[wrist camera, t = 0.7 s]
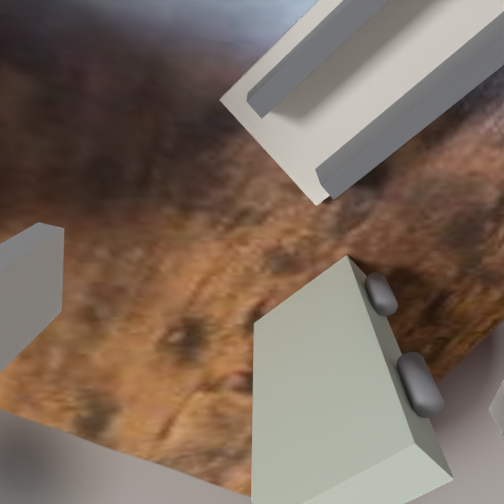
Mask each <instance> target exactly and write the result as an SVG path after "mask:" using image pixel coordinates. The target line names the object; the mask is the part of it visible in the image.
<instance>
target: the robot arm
mask: <svg viewBox="0 0 504 504" xmlns="http://www.w3.org/2000/svg"><path fill="white" fill-rule="evenodd" d="M63 256H64V228H62V227H57V226H53V225H48V224H44V223H39V222H38V223H36V224H34V225H33V226H31V227H29V228H27V229H26V230H24V231H22V232H20V233H18V234H17V235H15V236H13V237H11V238H10V239H8V240H6V241H4V242H3V243H1V244H0V372H1V371H2V370H3V369H4V368H5V367H6V366H7V365H8V364H9V363H10V362H11V361H12V360H13V359H14V358H15V357H16V356H17V355H18V354H19V353H20V352H21V351H22V350H23V349H24V348H25V347H26V346H27V345H28V344H29V343H30V342H31V341H32V340H33V339H34V338H35V337H36V336H38V335H39V334H40V333H41V332H42V331H43V330H44V329H45V328H46V327H47V326H48V325H49V324H50V323H51V322H52V321H53V320H54V319H55V318H56V317H57V316H58V315H59V314H60V313H61V312H62V285H63ZM488 410H489V412H490V414H491V416H492V418H493V420H494V421H495V423H496V425H497V427H498V429H499V431H500V433H501V434H502V436H503V438H504V379H503V382H502V383H501V385H500V388H499V389H498V391H497V393H496V395H495V397H494V399H493V401H492V403H491V405H490V407H489V409H488Z"/></svg>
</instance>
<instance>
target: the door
mask: <svg viewBox="0 0 504 504" xmlns="http://www.w3.org/2000/svg"><path fill="white" fill-rule="evenodd" d="M397 308H398V303H397V301H396V299H395V297H394V295H393V292H392V290H391V288H390V286H389V284H388V282H387V280H386V278H385V276H384V275H383V274H382V273H380V272H373V273H371V274H369V275H368V276H366V275H365V274H364V273H363V272H362V271H361V270H360V269H359V267H358V266H357V265H356V264H355V263H354V262H353V261H352V260H351V259H350V258H349V257H348V256H347V255H346V256H345V257H343V258H342V259H341V260H339V261H338V262H337V263H335V264H334V265H333V266H331V267H330V268H329V269H327V270H326V271H324V272H323V273H322V274H320V275H319V276H318V277H316V278H315V279H314V280H312V281H311V282H310V283H308V284H307V285H305V286H304V287H303V288H301V289H300V290H299V291H297V292H296V293H295V294H293V295H292V296H290V297H289V298H288V299H286V300H285V301H284V302H282V303H281V304H280V305H278V306H277V307H276V308H274V309H273V310H271V311H270V312H269V313H267V314H266V315H265V316H263V317H262V318H261V319H259V320H258V321H257V322H255V323H254V359H253V421H252V484H251V504H405V503H407V502H409V501H411V500H413V499H415V498H417V497H419V496H421V495H424V494H426V493H427V492H430V491H431V490H434V489H436V488H438V487H440V486H442V485H444V484H446V483H448V482H450V481H452V480H454V478H453V476H452V473H451V471H450V469H449V466H448V464H447V461H446V459H445V457H444V454H443V452H442V449H441V447H440V444H439V442H438V440H437V437H436V435H435V433H434V430H433V428H432V425H431V423H430V420H429V418H432V417H435V416H438V415H439V414H441V413H442V412H443V410H444V409H445V402H444V400H443V398H442V396H441V394H440V391H439V390H438V387H437V385H436V383H435V381H434V379H433V377H432V375H431V373H430V370H429V368H428V366H427V364H426V362H425V360H424V358H423V356H422V355H421V354H419V353H417V352H408V353H405V354H403V355H402V353H401V351H400V348H399V346H398V344H397V341H396V339H395V336H394V334H393V332H392V329H391V327H390V324H389V322H388V320H387V317H386V316H389V315H391V314H393V313H394V312H395V311H396V310H397Z"/></svg>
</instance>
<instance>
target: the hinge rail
mask: <svg viewBox="0 0 504 504" xmlns="http://www.w3.org/2000/svg"><path fill="white" fill-rule="evenodd" d="M503 65H504V0H319V1H318V2H317V3H316V4H315V5H314V6H313V7H312V8H311V9H310V10H309V11H308V12H307V13H306V14H305V15H304V16H303V17H302V18H301V19H300V20H299V21H298V22H297V23H296V24H295V25H293V26H292V27H291V28H290V29H289V30H288V31H287V32H286V33H285V34H284V35H283V36H282V37H281V38H280V39H279V40H278V41H277V42H276V43H275V44H274V45H273V46H272V47H271V48H270V49H269V50H268V51H267V52H266V53H265V54H264V55H263V56H262V57H261V58H260V59H259V60H258V61H257V62H256V63H255V64H254V65H253V66H252V67H251V68H250V69H249V70H248V71H247V72H246V73H245V74H244V75H243V76H242V77H241V78H240V79H239V80H238V81H237V82H236V83H235V84H234V85H233V86H232V87H231V88H230V89H229V90H228V91H227V92H226V93H225V94H224V95H223V96H222V97H221V98H220V101H221V102H222V103H223V104H224V106H225V107H226V108H227V109H228V110H229V111H230V112H231V113H232V114H233V115H234V116H235V118H236V119H237V120H238V121H239V122H240V123H241V124H242V125H243V126H244V127H245V128H246V130H247V131H248V132H249V133H250V134H251V135H252V136H253V137H254V138H255V139H256V141H257V142H258V143H259V144H260V145H261V146H262V147H263V148H264V149H265V150H266V151H267V153H268V154H269V155H270V156H271V157H272V158H273V159H274V160H275V161H276V162H277V163H278V165H279V166H280V167H281V168H282V169H283V170H284V171H285V172H286V173H287V174H288V176H289V177H290V178H291V179H292V180H293V181H294V182H295V183H296V184H297V185H298V186H299V188H300V189H301V190H302V191H303V192H304V193H305V194H306V195H307V196H308V197H309V198H310V200H311V201H312V202H313V203H314V204H315V205H316V206H317V205H318V204H320V203H321V202H322V201H323V200H325V199H326V198H327V197H328V196H331V197H332V198H333V200H334V199H336V198H337V197H338V196H339V195H341V194H342V193H343V192H344V191H346V190H347V189H348V188H349V187H351V186H352V185H353V184H354V183H356V182H357V181H358V180H360V179H361V178H362V177H363V176H365V175H366V174H367V173H368V172H370V171H371V170H372V169H373V168H375V167H376V166H377V165H378V164H380V163H381V162H382V161H383V160H385V159H386V158H387V157H388V156H390V155H391V154H392V153H394V152H395V151H396V150H397V149H399V148H400V147H401V146H402V145H404V144H405V143H406V142H407V141H409V140H410V139H411V138H412V137H414V136H415V135H416V134H417V133H419V132H420V131H421V130H422V129H424V128H425V127H426V126H427V125H429V124H430V123H431V122H433V121H434V120H435V119H436V118H438V117H439V116H440V115H441V114H443V113H444V112H445V111H446V110H448V109H449V108H450V107H451V106H453V105H454V104H455V103H456V102H458V101H459V100H460V99H461V98H463V97H464V96H465V95H467V94H468V93H469V92H470V91H472V90H473V89H474V88H475V87H477V86H478V85H479V84H480V83H482V82H483V81H484V80H485V79H487V78H488V77H489V76H490V75H492V74H493V73H494V72H495V71H497V70H498V69H499V68H501V67H502V66H503Z"/></svg>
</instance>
